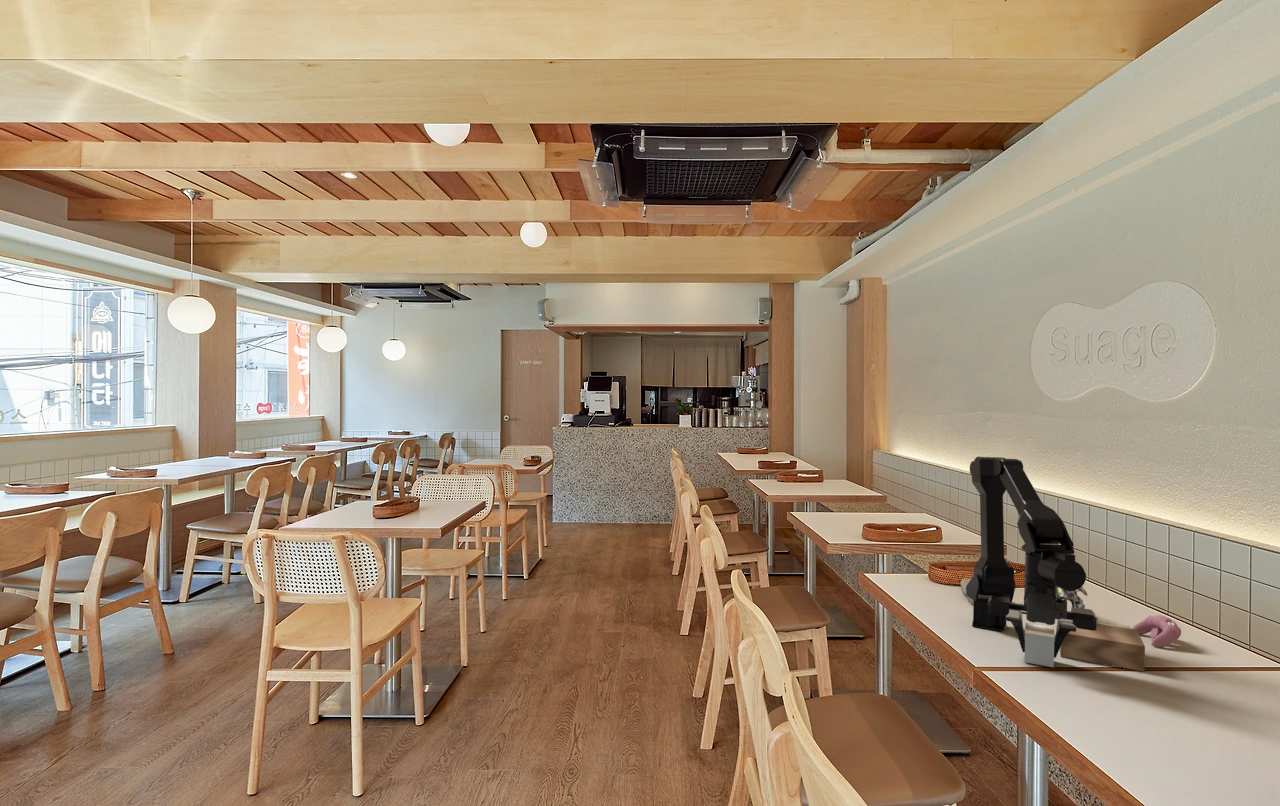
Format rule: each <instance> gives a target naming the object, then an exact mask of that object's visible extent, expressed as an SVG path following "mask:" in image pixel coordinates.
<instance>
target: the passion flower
mask: <svg viewBox="0 0 1280 806" xmlns="http://www.w3.org/2000/svg"><path fill="white" fill-rule="evenodd" d="M1078 592H1080V593H1082V594H1083V595H1085V596H1088V592H1087V590H1085V589H1084V587H1083V586H1082V587H1081V588H1079V589H1078V590H1075V591H1066V590H1064V589H1062V588H1059V587H1057V599H1061V600H1067V601H1069V602H1070V604H1071V607H1077V608H1084V609H1086V608H1085V607H1086V605H1085V604H1084V601H1083V599H1082V598H1081V597H1080V596H1079V595H1078V594H1077V593H1078Z"/></svg>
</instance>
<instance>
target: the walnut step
mask: <svg viewBox="0 0 1280 806" xmlns="http://www.w3.org/2000/svg"><path fill="white" fill-rule="evenodd" d="M1059 654H1060V658H1064V657H1066V658H1065V659H1070V658H1073V659H1072V660H1076V659H1078V660H1077V661H1081V660H1084V661H1083V662H1087V661H1090V662H1089V663H1093V662H1095V663H1094V664H1098V663H1101V664H1100V665H1104V664H1107V665H1106V666H1109V665H1114V666H1113V667H1115V666H1119V667H1118V668H1121V667H1123V668H1122V669H1126V668H1127V670H1132V671H1138V672H1144V673H1145V660H1146V657H1145V654H1146V645H1145V643H1144V641H1143V640H1142V638H1141V635H1139V633H1138V631H1137V629H1132V628H1129V627H1123V626H1116V625H1111V624H1105V623H1098V622H1097V627H1096V631H1092V630H1085V629H1079V628H1077V627H1076V631H1075V632H1073V631H1070V632H1069V633H1068V634H1067V636H1066V637H1065V639H1064V640H1063V642H1062V644H1061V647H1060V649H1059Z"/></svg>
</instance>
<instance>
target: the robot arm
mask: <svg viewBox="0 0 1280 806" xmlns="http://www.w3.org/2000/svg"><path fill="white" fill-rule="evenodd" d="M969 474H970V475H971V482H972V485H973V486H974V487H975V489H976V491H977V493H979V505H980V506H979V509H980V510H979V511H980V515H979V516H980V557H979V558H978V560H977V561H976V563H975V565H974V567H973V571H974V574H973V576H972V578H971V580H970V581H969V583H968V584H967V586H966V594H967V596H968V597H969V598H971V599H972V600H974V604H973V607H972V609H973V611H972V613H973V614H972V615H973V616H972V621H971V622H972V623H971V626H972V627H976V628H979V629H987V630H993V631H998V632H1004V631H1005V630H1004V628H1007V622H1009V623H1011V625H1012V626H1013V629H1014V630H1015V632H1016V635H1017V638H1018V641H1019V645H1020V649H1021V650H1022V653H1025V630H1024V629H1025V628H1024V622H1023V615H1026V616H1025V617H1026V620H1027V621H1028V622H1030V623H1033V624H1034V623H1039V624H1040V623H1041V624H1046V626H1047V625H1048V626H1053V625H1055V624H1056V629H1055V630H1056V631H1055V635H1054V659H1056V658H1057V656H1058V653H1059V652H1060V647H1061V644H1062V642H1063V640H1064V639H1065V637H1066V636H1067V634H1068V633H1069V632H1070V631H1073V632H1075V631H1076V627H1077V628H1079V629H1085V630H1092V631H1096V627H1097V623H1098V622H1097V620H1098V619H1097V615H1096V612H1094V611H1093V610H1092V609H1089V608H1085V607H1084V608H1085V609H1084V608H1077V607H1072V606H1071V607H1070V610H1068V600H1064V599H1062V600H1061V599H1057V587H1059V588H1062V589H1064V590H1066V591H1075V590H1078V589H1079V588H1081V587H1083V586H1084V585H1085V583H1086V579H1087V573H1086V572H1085V571H1086V570H1085V569H1084V567H1083V566H1082V564H1080V563H1079V562H1077V561H1076V555H1075V549H1074V545H1075V544H1074V542H1073V541H1072V538H1071V537H1070V534H1069V532H1068V530H1067V526H1066V525H1065V523H1064V520H1063V519H1062V518H1061V517H1060V515H1059V514H1058V513H1057V512H1056V511H1055V510H1054V509H1052V508H1050V507H1049V506H1047V505H1045V504H1044V502H1042V500H1041V498H1040V496H1039V495H1038V493H1037V491H1036V489H1035V488H1034V486H1033V484H1032V482H1031V481H1030V479H1029V477H1028V475H1027V473H1026V472H1025V470H1024V464H1023V462H1022V460H1020V459H1017V458H1006V457H1002V456H1001V457H999V456H976V457H975V458H974V460H972V461H971V462H970V465H969ZM1006 492H1007V494H1008V496H1009V498H1010V499H1011V502H1012V503H1013V506H1014V507H1015V509H1016V512H1017V513H1018V516H1019V517H1018V519H1017V524H1016V525H1017V528H1018V532H1019V535H1020V537H1021V539H1022V540H1023V542H1024V544H1023V545H1022V546H1021V550H1022V551H1025V558H1024V587H1023V588H1024V590H1023V592H1024V595H1023V603H1017V602H1013V599H1014V595H1015V592H1016V591H1015V590H1016V586H1017V584H1016V581H1015V569H1014V567H1013V566H1010V565H1009V563H1008V561H1007V560H1006V557H1005V534H1004V533H1005V531H1004V530H1005V523H1004V494H1005V493H1006ZM1056 620H1057V623H1056Z"/></svg>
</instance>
